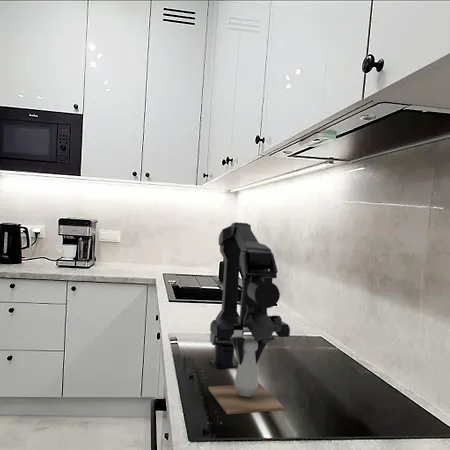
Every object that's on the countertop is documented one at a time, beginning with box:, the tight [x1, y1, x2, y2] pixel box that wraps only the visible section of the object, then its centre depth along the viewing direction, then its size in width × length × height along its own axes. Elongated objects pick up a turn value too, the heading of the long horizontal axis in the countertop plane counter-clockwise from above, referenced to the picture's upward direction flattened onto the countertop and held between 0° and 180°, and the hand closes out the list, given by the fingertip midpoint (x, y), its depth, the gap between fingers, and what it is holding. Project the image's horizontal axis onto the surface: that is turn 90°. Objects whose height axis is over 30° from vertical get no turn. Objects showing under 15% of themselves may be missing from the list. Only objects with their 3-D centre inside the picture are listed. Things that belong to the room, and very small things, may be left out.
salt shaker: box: [233, 337, 260, 397], centre depth 100 cm, size 6×6×13 cm
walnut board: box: [207, 383, 285, 415], centre depth 100 cm, size 14×14×1 cm
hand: (247, 363), depth 100 cm, fingers closed on salt shaker, 3 cm apart
